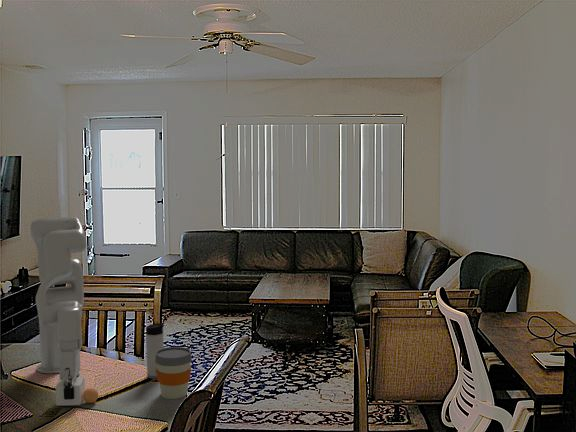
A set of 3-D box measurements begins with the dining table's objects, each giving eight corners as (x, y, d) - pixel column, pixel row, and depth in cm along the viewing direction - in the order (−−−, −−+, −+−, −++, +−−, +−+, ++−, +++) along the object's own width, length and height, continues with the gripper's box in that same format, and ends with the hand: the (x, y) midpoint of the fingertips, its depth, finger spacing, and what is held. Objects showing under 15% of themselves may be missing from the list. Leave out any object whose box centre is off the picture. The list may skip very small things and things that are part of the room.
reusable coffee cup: (162, 403, 225) (161, 360, 223) (151, 390, 236) (150, 349, 234) (197, 396, 231) (196, 354, 229) (185, 384, 242) (184, 344, 240)
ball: (93, 382, 227) (102, 393, 228) (81, 391, 228) (91, 402, 228) (89, 388, 223) (99, 399, 223) (78, 397, 223) (88, 408, 223)
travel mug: (161, 379, 247) (160, 327, 244) (144, 378, 248) (143, 326, 246) (167, 373, 253) (166, 322, 250) (151, 372, 254) (149, 321, 252)
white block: (62, 396, 229) (61, 377, 228) (85, 395, 229) (84, 376, 228) (56, 405, 221) (55, 385, 220) (80, 405, 222) (79, 385, 221)
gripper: (64, 336, 231) (66, 384, 233) (51, 352, 214) (54, 404, 216) (87, 335, 232) (88, 384, 234) (75, 351, 214) (77, 404, 217)
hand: (72, 393), depth 225 cm, fingers closed on white block, 7 cm apart
